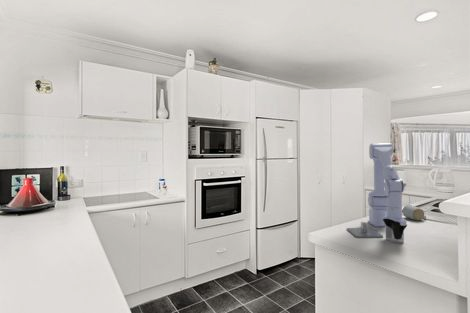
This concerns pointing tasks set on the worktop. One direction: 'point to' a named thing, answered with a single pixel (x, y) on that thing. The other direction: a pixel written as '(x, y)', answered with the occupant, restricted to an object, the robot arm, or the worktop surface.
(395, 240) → the sleeve
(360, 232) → the duct flange
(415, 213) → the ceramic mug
